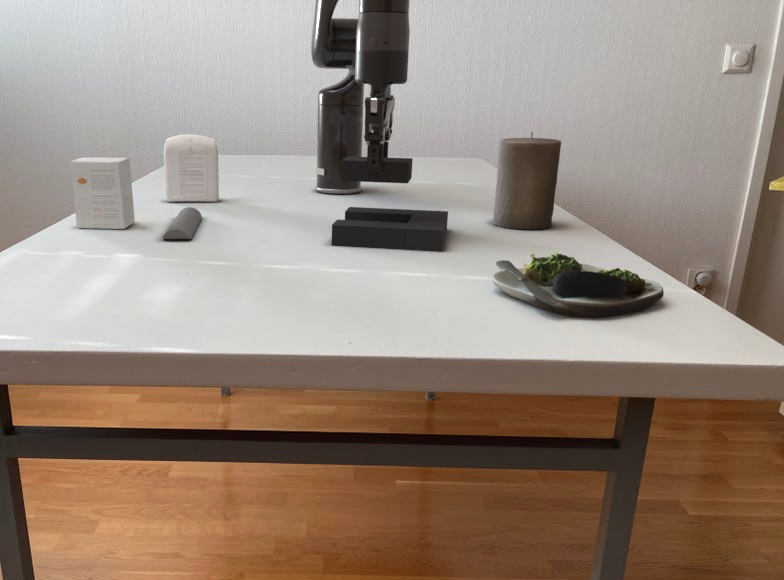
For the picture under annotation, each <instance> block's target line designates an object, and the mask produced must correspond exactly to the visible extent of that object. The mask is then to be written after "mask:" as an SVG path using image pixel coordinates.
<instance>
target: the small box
mask: <svg viewBox="0 0 784 580" xmlns="http://www.w3.org/2000/svg"><path fill="white" fill-rule="evenodd" d="M130 161H131V160H130V158H129V157H84V156H83V157H80V158H77V159H73V160H71V161H69V165H70V166H69V167H70V174H71V184H72V195H73V203H74V211H75V223H76V228H77V229H106V230H107V229H108V230H125V229H127V228H128V227H129V226H131V225H132V224H134V223H135V221H136V219H135V207H134V195H133V184H132V174H131V173H132V172H131V162H130Z"/></svg>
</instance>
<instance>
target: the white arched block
mask: <svg viewBox="0 0 784 580" xmlns="http://www.w3.org/2000/svg"><path fill="white" fill-rule="evenodd" d="M218 150H219V149H218V145H217V143H216V139H215V138H212V137H210V136H206V135H201V134H194V133H187V134H185V133H184V134H178V135H173V136H170V137H168V138H166V139H165V143H164V145H163V172H164V198H165V201H166V202H174V203H175V202H179V203H181V202H182V203H183V202H185V203H187V202H190V203H191V202H193V203H194V202H197V203H198V202H202V203H203V202H204V203H205V202H211V203H212V202H213V203H216V202H219V200H220V186H219V183H220V182H219V180H220V178H219V177H220V176H219V171H220V170H219V151H218Z"/></svg>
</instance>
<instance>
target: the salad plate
mask: <svg viewBox="0 0 784 580" xmlns="http://www.w3.org/2000/svg"><path fill="white" fill-rule="evenodd" d="M530 259H531V261H530V262H528V263H524V264H523V268H517V267H516V266H515V265H514V264H513V262H511V261H510V260H506V259H505V260H503V259H502V260H496V263H495V266H496V267H497V269H499V270H500V271H497V272H495V273H493V275H492V284H493V285H494V286H495V287H497V288H498V289H499V290H501V291H503V292H504V293H506V294H507V295H509V296H511V298H514V299H517V300H519V301H522V302H524V303H525V302H526V303H528V304H530V305H533V306H535V307H537V308H539V309H542V310H545V311H549V312H552V313H555V314H558V315H563V316H569V317H570V316H571V317H579V318H608V317H615V316H622V315H628V314H633V313H639V312H642V311H645V310H647V309H649V308H651V307H652V306H653V305H654V304H655V303H657V302H658V301H660V300H661V299H662V298H664V295H665V291H664V287H663V286H662V285H661V284H660V283H659V282H657V281H654V280H652V279H648V278H647V279H646V278H642V277H640V276H639V274H637V273H635V272H632V271H630V270H628V269H620V267H616V268H612V269H606V268H602V267H599V266H595V265H591V264H588V263H581V262H579V261H577V259H575V256H568V255H566V254H562V253H559V252H557V251H556V252H555V254H550V256H542V257H536V255H535V254H534V253H531V254H530Z"/></svg>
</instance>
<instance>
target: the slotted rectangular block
mask: <svg viewBox="0 0 784 580" xmlns="http://www.w3.org/2000/svg"><path fill="white" fill-rule="evenodd" d="M448 217H449V211H448V210H427V209H425V210H424V209H423V210H422V209H405V208H404V209H402V208H384V207H383V208H382V207H381V208H380V207H362V206H361V207H358V206H348V208H347V209H346V210H345V211H344V219H336V220H335V221H334V222H333V223H332V224H331V246H339V247H340V246H341V247H359V248H376V249H393V250H394V249H395V250H397V249H398V250H409V251H410V250H411V251H429V252H442V251H443V248H444V244H445V240H446V235H447V230H448V221H449V220H448V219H449V218H448Z"/></svg>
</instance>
